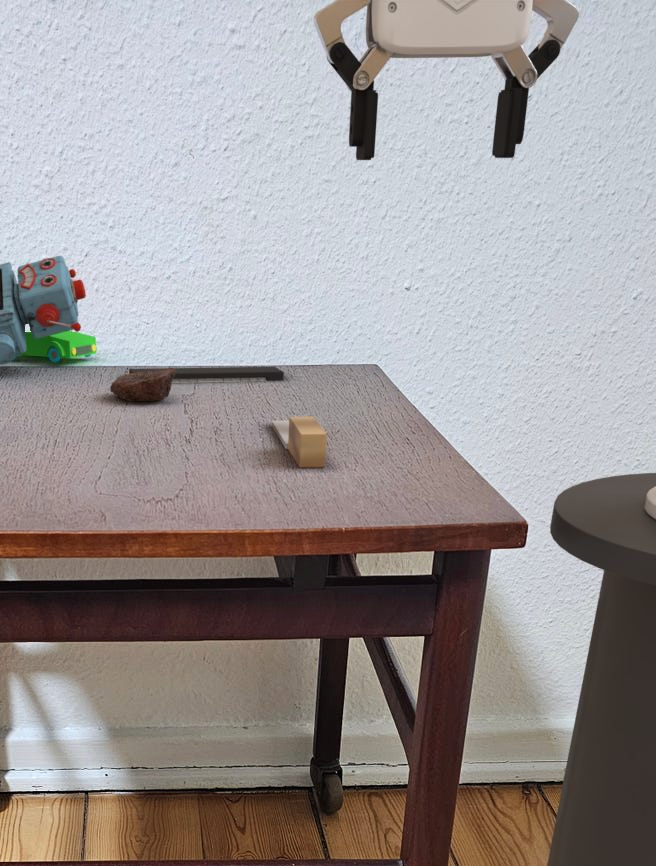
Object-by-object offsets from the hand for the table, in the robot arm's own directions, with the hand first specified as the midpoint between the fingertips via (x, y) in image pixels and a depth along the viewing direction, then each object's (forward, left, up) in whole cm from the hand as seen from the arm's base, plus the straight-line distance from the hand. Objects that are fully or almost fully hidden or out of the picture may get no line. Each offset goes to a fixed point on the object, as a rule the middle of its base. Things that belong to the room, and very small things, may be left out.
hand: (433, 158), depth 82 cm
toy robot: (+54, -59, -22) cm, 83 cm away
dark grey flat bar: (+11, -50, -23) cm, 56 cm away
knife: (+6, -18, -23) cm, 29 cm away
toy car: (+30, -67, -23) cm, 77 cm away
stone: (+19, -40, -23) cm, 50 cm away
